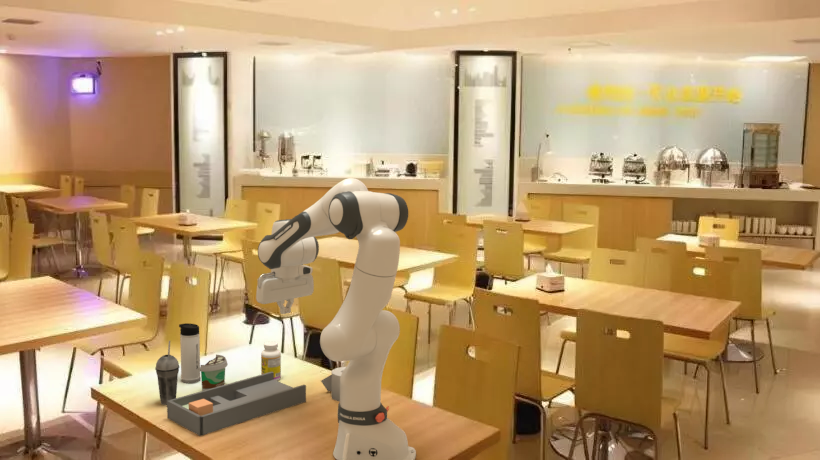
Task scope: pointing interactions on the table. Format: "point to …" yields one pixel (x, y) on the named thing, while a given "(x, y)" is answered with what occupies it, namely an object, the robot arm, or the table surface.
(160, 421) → the table surface
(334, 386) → the toilet tissue
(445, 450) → the table surface
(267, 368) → the supplement bottle
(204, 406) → the terracotta block
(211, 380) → the food container
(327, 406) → the table surface
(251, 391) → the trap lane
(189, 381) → the travel mug
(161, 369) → the beverage cup
